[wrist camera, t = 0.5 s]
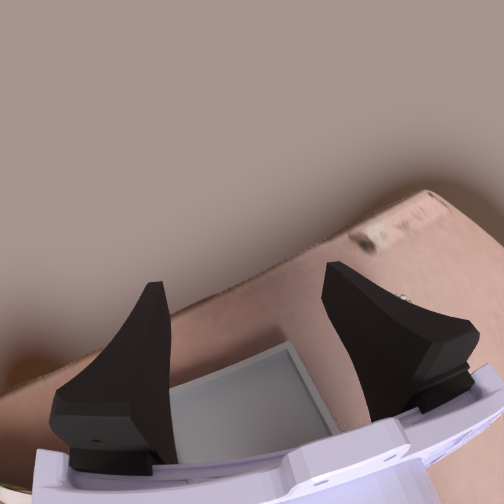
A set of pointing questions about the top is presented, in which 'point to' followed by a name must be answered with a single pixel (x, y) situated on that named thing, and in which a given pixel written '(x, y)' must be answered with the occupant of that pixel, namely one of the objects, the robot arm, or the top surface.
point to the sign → (15, 494)
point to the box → (249, 409)
